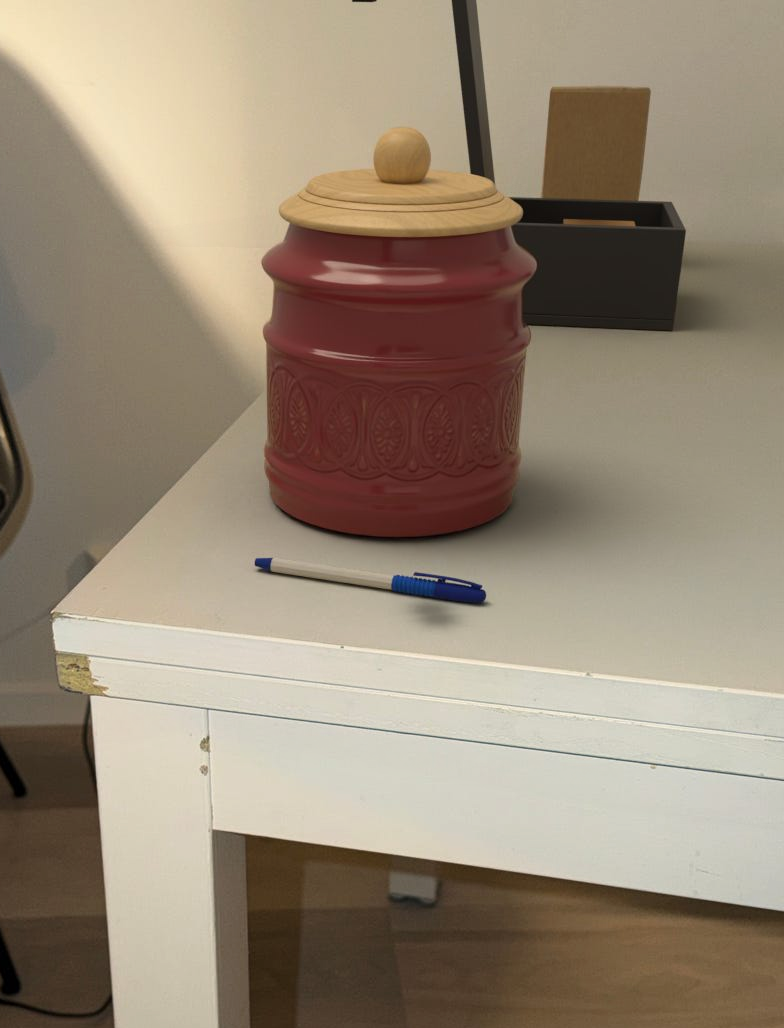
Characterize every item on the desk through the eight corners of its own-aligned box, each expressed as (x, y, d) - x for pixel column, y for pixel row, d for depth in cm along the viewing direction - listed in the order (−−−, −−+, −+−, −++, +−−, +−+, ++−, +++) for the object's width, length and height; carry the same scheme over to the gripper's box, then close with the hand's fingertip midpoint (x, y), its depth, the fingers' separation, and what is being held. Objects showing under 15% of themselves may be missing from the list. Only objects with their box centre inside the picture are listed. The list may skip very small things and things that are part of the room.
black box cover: (474, -21, 100) (461, -18, 100) (464, -19, 89) (449, -16, 89) (495, 188, 106) (483, 190, 107) (488, 214, 95) (475, 216, 96)
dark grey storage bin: (660, 293, 108) (672, 201, 105) (672, 331, 97) (686, 229, 94) (483, 286, 110) (488, 196, 107) (475, 322, 99) (481, 223, 96)
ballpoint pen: (487, 598, 56) (489, 577, 56) (483, 607, 55) (485, 586, 55) (258, 567, 59) (257, 546, 59) (251, 575, 58) (251, 554, 58)
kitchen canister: (247, 459, 72) (240, 114, 64) (474, 445, 74) (496, 110, 66) (287, 552, 60) (285, 148, 52) (554, 533, 62) (592, 141, 54)
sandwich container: (625, 236, 130) (643, 73, 123) (632, 268, 117) (653, 87, 110) (538, 233, 132) (551, 72, 125) (535, 264, 118) (550, 85, 111)
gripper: (266, -412, 83) (267, 1, 94) (472, -419, 81) (449, 4, 92) (287, -385, 89) (286, -1, 100) (478, -390, 88) (456, 1, 99)
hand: (364, 1), depth 96 cm, fingers closed
